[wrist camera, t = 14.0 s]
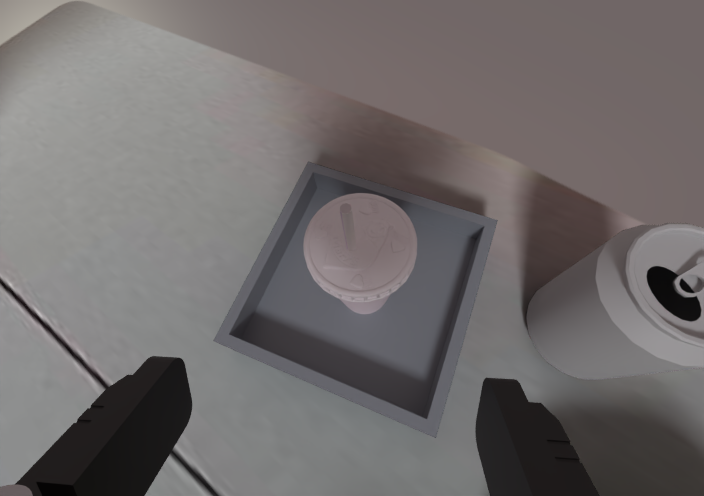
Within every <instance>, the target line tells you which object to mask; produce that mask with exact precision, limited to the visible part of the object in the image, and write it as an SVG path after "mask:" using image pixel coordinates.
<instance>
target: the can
mask: <svg viewBox="0 0 704 496" xmlns="http://www.w3.org/2000/svg"><path fill="white" fill-rule="evenodd" d="M526 319H527V326H528V333H529V335H530V337H531V339H532V341H533V344H534V346H535V348H536V349H537V350H538V352H539V353H540V354H541V355H542V356H543V357H544V359H545V360H546V361H547V362H548V363H549V364H551V365H552V366H554V367H555V368H557V369H558V370H559V371H561V372H562V373H564V374H567V375H570V376H573V377H576V378H579V379H590V380H600V379H609V378H618V377H627V376H636V375H645V374H654V373H662V372H671V371H680V370H689V369H698V368H704V228H703V227H699V226H695V225H691V224H687V223H665V224H662V225H640V226H637V227H633V228H630V229H626V230H623V231H621V232H620V233H618V234H617V235H615V236H614V237H613V238H611V239H610V240H608V241H607V242H605V243H604V244H603V245H601V246H600V247H598V248H597V249H595V250H594V251H593V252H591V253H590V254H588V255H587V256H585V257H584V258H583V259H581V260H580V261H578V262H577V263H575V264H574V265H573V266H571V267H570V268H568V269H567V270H565V271H564V272H563V273H561V274H560V275H558V276H557V277H555V278H554V279H553V280H551V281H550V282H548V283H547V284H545V285H544V286H543V287H541V288H540V289H539V290H537V291H536V293H535V294H534V296H533V297H532V299H531V301H530V302H529V306H528V311H527V316H526Z"/></svg>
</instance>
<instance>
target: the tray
mask: <svg viewBox="0 0 704 496" xmlns="http://www.w3.org/2000/svg"><path fill="white" fill-rule="evenodd" d="M354 193H368V194H374V195H378V196H381V197H384V198H386V199H388V200H390V201H392V202H394V203H395V204H397V205H398V206H399V207H400V208H401V209H402V210H403V211H404V212H405V213H406V214H407V215H408V217H409V218H410V220H411V222H412V224H413V226H414V229H415V232H416V237H417V257H416V261H415V265H414V269H413V270H412V272H411V274H410V275H409V277H408V279H407V281H406V282H405V283H404V284H403V285H402V286H400V287H399V288H398V289H397V290H396V291H395V292H393V293H392V294H390V296H389V297H388V299H387V301H386V302H385V304H384V305H383V306H382V307H381V308H380V309H379V310H377V311H376V312H374V313H371V314H359V313H356V312H353V311H352V310H350V309H349V308H348V307H347V306H346V305H345V304H344V303H343V302H342V301H341V300H340V299H338V298H336V297H334V296H333V295H331V294H329V293H327V292H326V291H324V290H323V289H322V288H321V287H320V286H319V285H318V284H317V283H316V282H315V280H314V279H313V277H312V275H311V273H310V271H309V269H308V268H307V263H306V260H305V256H304V248H303V244H304V236H305V232H306V229H307V227H308V225H309V223H310V221H311V219H312V218H313V216H314V215H315V214H316V213H317V212H318V211H319V210H320V209H321V208H322V207H323V206H324V205H326V204H327V203H329V202H330V201H332V200H334V199H336V198H338V197H341V196H344V195H348V194H354ZM497 221H498V220H495V219H492V218H488V217H485V216H482V215H479V214H475V213H472V212H469V211H466V210H463V209H459V208H456V207H453V206H450V205H446V204H443V203H440V202H437V201H433V200H430V199H427V198H424V197H421V196H417V195H414V194H411V193H408V192H404V191H401V190H398V189H395V188H392V187H388V186H385V185H382V184H379V183H375V182H372V181H369V180H366V179H362V178H359V177H356V176H353V175H350V174H346V173H343V172H340V171H337V170H333V169H330V168H327V167H324V166H321V165H317V164H314V163H311V162H308V163H307V165H306V167H305V169H304V171H303V173H302V175H301V176H300V178H299V180H298V182H297V184H296V186H295V188H294V190H293V191H292V193H291V195H290V197H289V199H288V201H287V203H286V205H285V207H284V208H283V210H282V212H281V214H280V216H279V218H278V220H277V222H276V224H275V225H274V227H273V229H272V231H271V233H270V235H269V237H268V239H267V241H266V242H265V244H264V246H263V248H262V250H261V252H260V254H259V256H258V258H257V259H256V261H255V263H254V265H253V267H252V269H251V271H250V273H249V274H248V276H247V278H246V280H245V282H244V284H243V286H242V288H241V290H240V291H239V293H238V295H237V297H236V299H235V301H234V303H233V305H232V307H231V308H230V310H229V312H228V314H227V316H226V318H225V320H224V322H223V324H222V325H221V327H220V329H219V331H218V333H217V335H216V337H215V339H214V341H215V342H217V343H219V344H222V345H224V346H226V347H228V348H231V349H233V350H235V351H238V352H240V353H242V354H244V355H247V356H249V357H251V358H254V359H256V360H258V361H261V362H263V363H265V364H267V365H270V366H272V367H274V368H277V369H279V370H281V371H283V372H286V373H288V374H290V375H293V376H295V377H297V378H299V379H302V380H304V381H306V382H309V383H311V384H313V385H316V386H318V387H320V388H322V389H325V390H327V391H329V392H332V393H334V394H336V395H338V396H341V397H343V398H345V399H348V400H350V401H352V402H355V403H357V404H359V405H361V406H364V407H366V408H368V409H371V410H373V411H375V412H377V413H380V414H382V415H384V416H387V417H389V418H391V419H393V420H396V421H398V422H400V423H403V424H405V425H407V426H410V427H412V428H414V429H416V430H419V431H421V432H423V433H426V434H428V435H430V436H432V437H435V438H436V436H437V432H438V429H439V425H440V421H441V418H442V414H443V411H444V407H445V404H446V400H447V397H448V393H449V390H450V386H451V383H452V379H453V376H454V372H455V369H456V365H457V362H458V358H459V355H460V351H461V348H462V344H463V340H464V337H465V333H466V330H467V326H468V323H469V319H470V316H471V312H472V309H473V305H474V302H475V298H476V295H477V291H478V288H479V284H480V281H481V277H482V274H483V270H484V267H485V263H486V260H487V256H488V252H489V249H490V245H491V242H492V238H493V235H494V231H495V228H496V224H497Z"/></svg>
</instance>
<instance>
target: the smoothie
mask: <svg viewBox="0 0 704 496" xmlns="http://www.w3.org/2000/svg"><path fill="white" fill-rule="evenodd" d="M303 248H304V256H305V260H306V263H307V268H308V269H309V271H310V273H311V275H312V277H313V279H314V280H315V282H316V283H317V284H318V285H319V286H320V287H321V288H322V289H323V290H324V291H326V292H327V293H329V294H331V295H333V296H334V297H336V298H338V299H340V300H341V301H342V302H343V303H344V304H345V305H346V306H347V307H348V308H349V309H350V310H352V311H353V312H356V313H359V314H371V313H374V312H376V311H377V310H379V309H380V308H381V307H382V306H383V305H384V304H385V302H386V301H387V299H388V297H389V296H390V294H392V293H393V292H395V291H396V290H397V289H398V288H399V287H400V286H402V285H403V284H404V283H405V282H406V281H407V279H408V277H409V275H410V274H411V272H412V270H413V269H414V265H415V261H416V257H417V237H416V232H415V229H414V226H413V224H412V222H411V220H410V218H409V217H408V215H407V214H406V213H405V212H404V211H403V210H402V209H401V208H400V207H399V206H398V205H397V204H395V203H394V202H392V201H390V200H388V199H386V198H384V197H381V196H378V195H374V194H368V193H354V194H348V195H344V196H341V197H338V198H336V199H334V200H332V201H330V202H329V203H327V204H326V205H324V206H323V207H322V208H321V209H320V210H319V211H318V212H317V213H316V214H315V215H314V216H313V218H312V219H311V221H310V223H309V225H308V227H307V229H306V232H305V236H304V244H303Z"/></svg>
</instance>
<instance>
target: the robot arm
mask: <svg viewBox="0 0 704 496" xmlns="http://www.w3.org/2000/svg"><path fill="white" fill-rule="evenodd" d="M191 411H192V398H191V393H190V388H189V383H188V378H187V373H186V368H185V364H184V361H183V360H182V359H181V358H174V357H158V356H152V357H150V358H148V359H147V360H146V361H145V362H144V363H143V364H142V366H141V367H140V368H139V369H138V370H137V371H136V372H135V373H134V374H133V375H127V376H125V377H124V378H122V379H121V380H119V381H118V382H116V383H115V384H113V385H112V386H110V387H108V388H107V389H106V390H105V391H104V392H103V393H102V394H101V395H100V396H99V397H98V398H97V399H96V401H95V402H94V403H93V404H92V405H91V408H90V409H87V410H86V411H85V412H84V413H83V414H82V415H81V416H80V417H79V418H78V421H77V423H74V424H73V425H72V426H71V427H70V428H69V429H68V430H67V431H66V432H65V433H64V434H63V435H62V436H61V437H60V438H59V439H58V440H57V441H56V442H55V443H54V444H53V445H52V447H51V448H50V449H49V450H48V451H47V452H46V453H45V454H44V455H43V456H42V457H41V458H40V459H39V460H38V461H37V462H36V463H35V464H34V465H33V466H32V467H31V468H30V470H29V471H28V472H27V473H26V474H25V475H24V476H23V477H22V478H21V479H20V480H19V481H18V482H17V483H16V484H15V485H7V486H2V487H0V496H145V494H146V492H147V491H148V489H149V487H150V486H151V484H152V482H153V481H154V479H155V477H156V476H157V474H158V472H159V471H160V469H161V467H162V466H163V464H164V462H165V461H166V459H167V457H168V456H169V454H170V452H171V451H172V449H173V448H174V446H175V444H176V443H177V441H178V439H179V438H180V436H181V434H182V433H183V431H184V429H185V428H186V426H187V424H188V422H189V419H190V416H191ZM476 442H477V448H478V452H479V456H480V459H481V463H482V467H483V471H484V475H485V478H486V482H487V486H488V490H489V493H490V496H599V494H598V492H597V490H596V488H595V487H594V485H593V483H592V481H591V479H590V477H589V475H588V474H587V472H586V470H585V468H584V466H583V464H582V463H580V461H579V457H578V455H577V453H576V451H575V450H574V448H573V446H572V445H570V440H569V439H568V437H567V435H566V433H565V431H564V429H563V427H562V426H561V424H560V422H559V420H558V419H557V418H556V417H555V416H553V415H552V414H551V413H550V412H549V411H548V410H547V409H546V408H545V407H544V406H543V405H542V404H541V403H532V402H528V400H527V398H526V396H525V394H524V391H523V389H522V387H521V385H520V383H519V382H518V381H517V380H514V379H498V378H485V379H484V382H483V386H482V391H481V397H480V403H479V408H478V414H477V419H476Z"/></svg>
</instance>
